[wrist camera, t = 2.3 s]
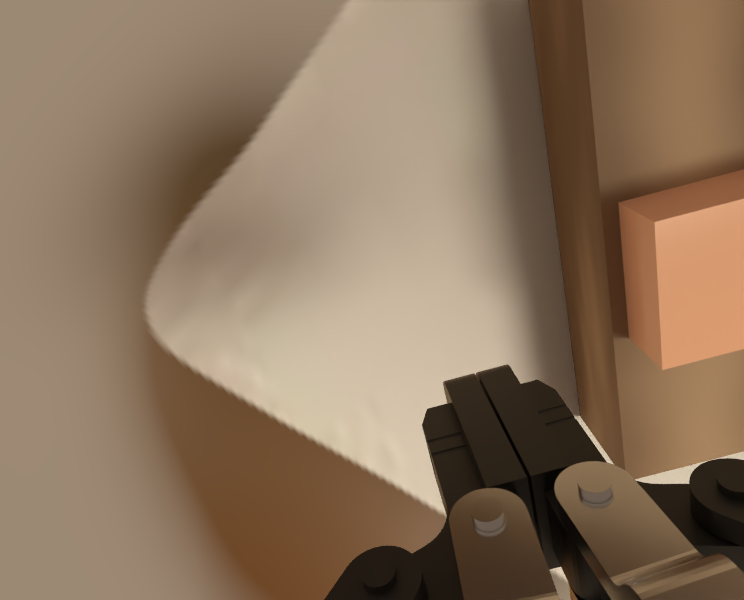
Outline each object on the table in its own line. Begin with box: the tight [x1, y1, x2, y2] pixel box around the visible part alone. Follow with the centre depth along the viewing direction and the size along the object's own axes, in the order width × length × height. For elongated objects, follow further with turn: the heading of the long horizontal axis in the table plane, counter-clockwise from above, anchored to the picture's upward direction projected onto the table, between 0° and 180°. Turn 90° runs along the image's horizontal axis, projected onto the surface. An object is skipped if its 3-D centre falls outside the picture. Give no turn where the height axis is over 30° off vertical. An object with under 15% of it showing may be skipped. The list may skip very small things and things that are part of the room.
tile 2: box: [618, 169, 744, 370], centre depth 17 cm, size 4×4×2 cm
